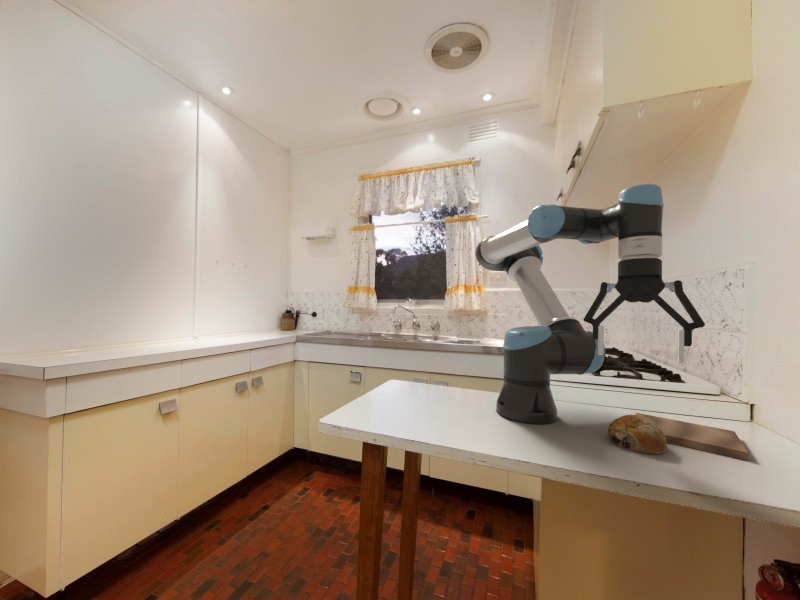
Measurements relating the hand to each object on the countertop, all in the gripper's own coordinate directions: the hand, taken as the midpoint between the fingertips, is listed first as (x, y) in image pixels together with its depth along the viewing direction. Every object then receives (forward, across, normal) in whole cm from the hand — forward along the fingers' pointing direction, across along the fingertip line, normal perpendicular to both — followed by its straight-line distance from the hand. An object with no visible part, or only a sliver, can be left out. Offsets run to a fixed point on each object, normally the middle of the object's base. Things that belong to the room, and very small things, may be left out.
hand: (638, 358), depth 67 cm
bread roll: (+19, 0, 0) cm, 19 cm away
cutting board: (+18, +8, +13) cm, 24 cm away
